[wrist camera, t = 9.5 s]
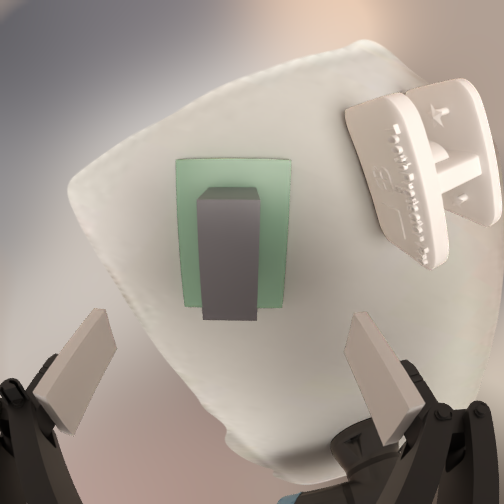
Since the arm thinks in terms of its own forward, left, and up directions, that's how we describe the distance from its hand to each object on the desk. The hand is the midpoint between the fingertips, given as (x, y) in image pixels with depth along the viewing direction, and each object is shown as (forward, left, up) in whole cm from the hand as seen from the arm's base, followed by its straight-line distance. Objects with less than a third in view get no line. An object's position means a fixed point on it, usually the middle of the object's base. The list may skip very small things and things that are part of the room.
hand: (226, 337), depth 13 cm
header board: (0, 0, -17) cm, 17 cm away
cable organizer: (+9, -18, -17) cm, 26 cm away
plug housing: (+1, 0, -15) cm, 15 cm away
